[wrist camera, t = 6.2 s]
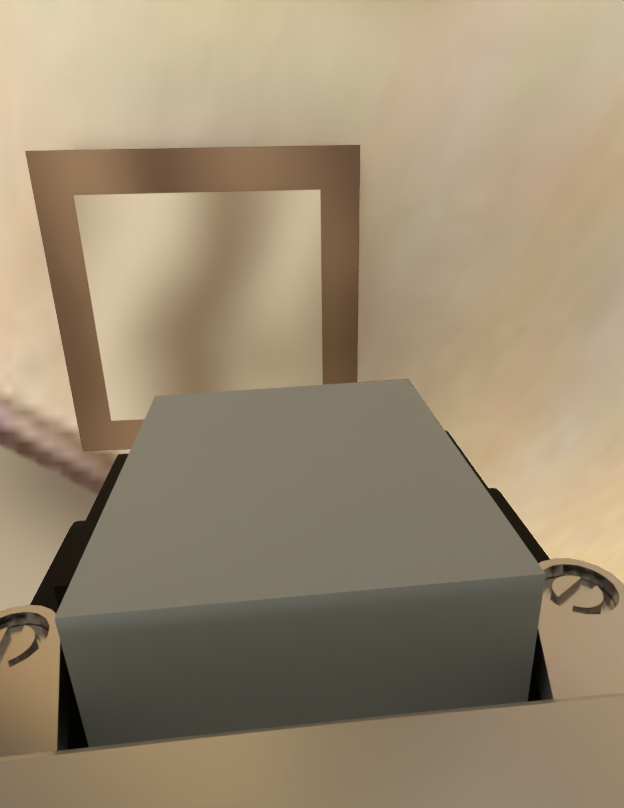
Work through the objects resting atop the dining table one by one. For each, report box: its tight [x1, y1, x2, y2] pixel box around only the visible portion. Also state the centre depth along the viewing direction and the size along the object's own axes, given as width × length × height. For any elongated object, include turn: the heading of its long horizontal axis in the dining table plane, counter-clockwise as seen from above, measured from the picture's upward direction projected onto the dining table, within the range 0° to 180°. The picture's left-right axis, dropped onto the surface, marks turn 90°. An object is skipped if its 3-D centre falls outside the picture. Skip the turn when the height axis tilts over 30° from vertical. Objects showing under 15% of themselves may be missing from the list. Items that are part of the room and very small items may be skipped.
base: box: [25, 145, 360, 451], centre depth 25 cm, size 12×12×5 cm
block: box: [54, 379, 546, 747], centre depth 10 cm, size 5×5×6 cm
